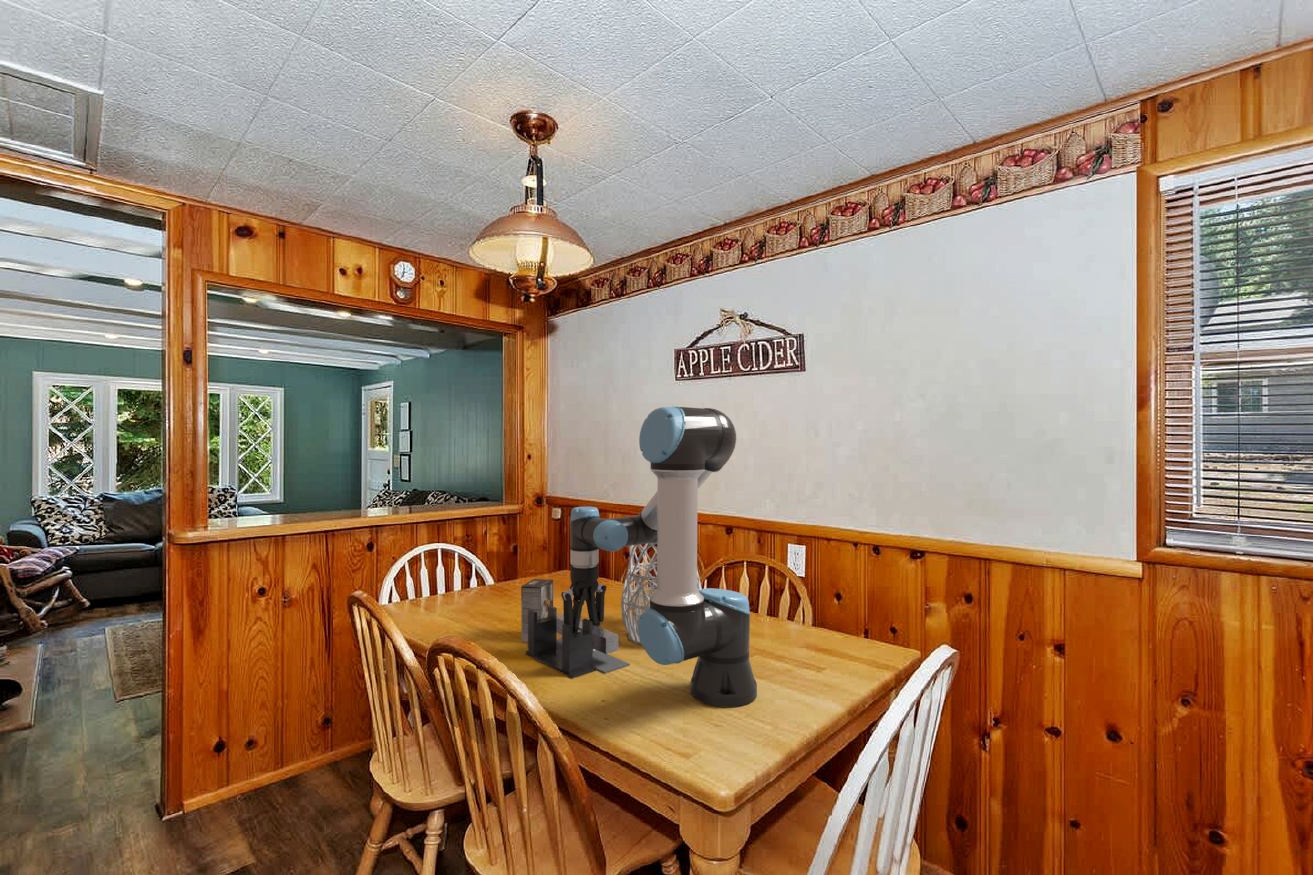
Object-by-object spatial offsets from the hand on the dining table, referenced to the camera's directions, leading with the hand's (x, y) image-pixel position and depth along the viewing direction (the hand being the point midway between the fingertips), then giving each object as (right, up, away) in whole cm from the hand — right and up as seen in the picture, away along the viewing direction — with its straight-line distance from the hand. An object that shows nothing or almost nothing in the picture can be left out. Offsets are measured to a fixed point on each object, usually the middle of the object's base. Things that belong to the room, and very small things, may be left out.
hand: (584, 651), depth 161 cm
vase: (+21, -1, +16) cm, 26 cm away
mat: (0, -1, 0) cm, 1 cm away
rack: (-6, -1, -6) cm, 8 cm away
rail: (0, +3, 0) cm, 3 cm away
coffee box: (-15, -1, +13) cm, 20 cm away
